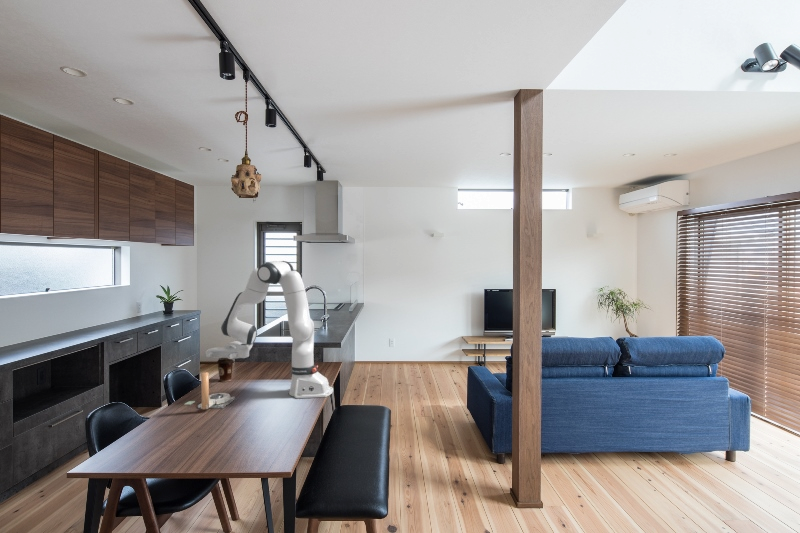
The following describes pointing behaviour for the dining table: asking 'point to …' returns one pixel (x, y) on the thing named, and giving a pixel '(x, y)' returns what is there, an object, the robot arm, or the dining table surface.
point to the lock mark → (189, 403)
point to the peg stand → (207, 398)
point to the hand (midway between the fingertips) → (219, 356)
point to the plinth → (220, 403)
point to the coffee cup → (225, 369)
